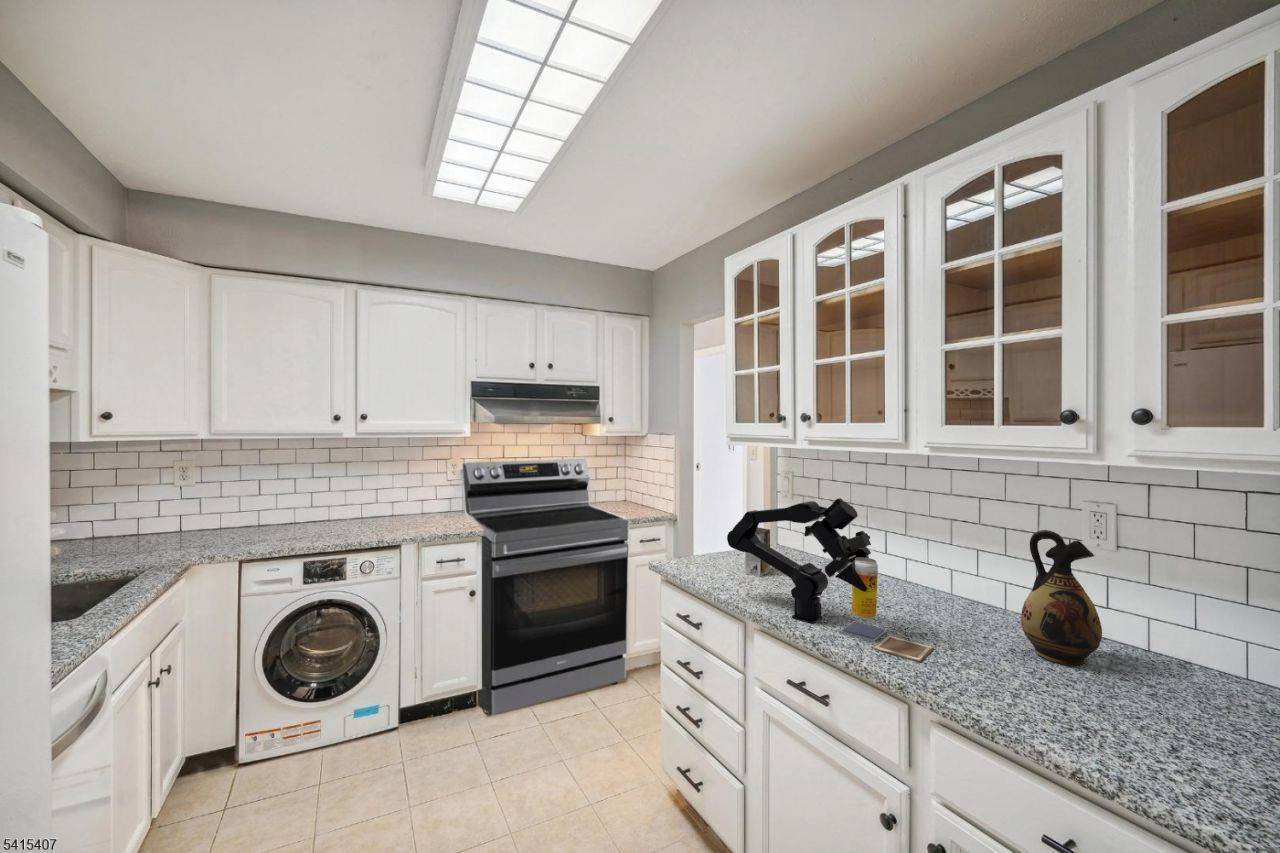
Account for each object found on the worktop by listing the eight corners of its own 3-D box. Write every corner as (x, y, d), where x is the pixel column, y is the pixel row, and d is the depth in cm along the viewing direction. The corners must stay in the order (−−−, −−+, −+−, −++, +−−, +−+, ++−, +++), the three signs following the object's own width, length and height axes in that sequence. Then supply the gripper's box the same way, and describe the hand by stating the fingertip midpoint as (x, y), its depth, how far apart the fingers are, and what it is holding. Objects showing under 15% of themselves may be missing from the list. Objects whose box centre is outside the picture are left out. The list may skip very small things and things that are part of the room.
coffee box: (754, 569, 208) (755, 527, 208) (770, 571, 205) (771, 529, 205) (744, 574, 201) (744, 530, 201) (760, 577, 197) (761, 532, 197)
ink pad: (839, 633, 145) (840, 629, 145) (853, 624, 151) (853, 620, 151) (874, 642, 138) (874, 638, 138) (887, 633, 145) (887, 629, 145)
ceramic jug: (1104, 657, 131) (1106, 533, 131) (1097, 678, 120) (1099, 542, 120) (1019, 637, 143) (1021, 523, 143) (1006, 654, 132) (1008, 531, 132)
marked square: (872, 649, 134) (872, 647, 134) (887, 636, 142) (887, 634, 142) (920, 662, 127) (920, 660, 127) (933, 648, 135) (934, 646, 135)
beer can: (864, 621, 141) (866, 563, 140) (846, 613, 146) (848, 558, 146) (881, 618, 143) (883, 561, 143) (862, 610, 149) (864, 556, 148)
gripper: (837, 526, 140) (880, 578, 133) (864, 517, 154) (905, 564, 146) (807, 551, 146) (848, 602, 138) (836, 541, 159) (874, 587, 152)
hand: (870, 588), depth 144 cm, fingers closed on beer can, 6 cm apart
